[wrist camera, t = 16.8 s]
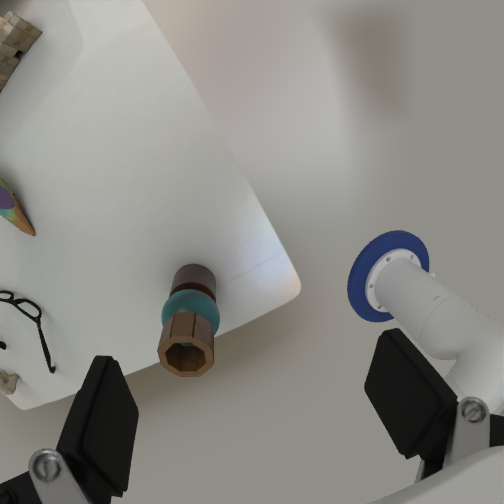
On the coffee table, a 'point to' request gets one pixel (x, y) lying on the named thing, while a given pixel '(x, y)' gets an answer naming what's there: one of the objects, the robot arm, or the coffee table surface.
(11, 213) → the decorative sculpture
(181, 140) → the coffee table surface
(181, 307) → the ball stand
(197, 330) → the bronze ring
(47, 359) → the glasses
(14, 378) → the bone
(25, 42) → the block tower
